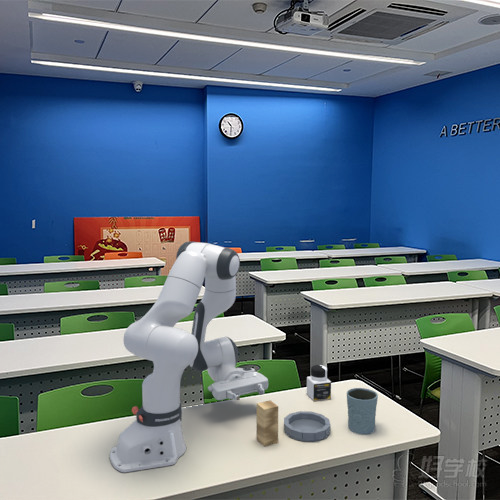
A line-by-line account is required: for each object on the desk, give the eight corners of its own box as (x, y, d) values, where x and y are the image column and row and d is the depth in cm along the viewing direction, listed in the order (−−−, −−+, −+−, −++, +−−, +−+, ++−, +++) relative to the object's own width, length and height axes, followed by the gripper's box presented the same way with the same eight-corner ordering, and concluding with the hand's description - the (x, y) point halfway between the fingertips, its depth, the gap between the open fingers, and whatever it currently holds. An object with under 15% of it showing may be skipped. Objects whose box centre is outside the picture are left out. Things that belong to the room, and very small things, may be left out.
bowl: (300, 446, 152) (300, 437, 151) (275, 425, 165) (275, 417, 165) (339, 435, 159) (339, 426, 158) (312, 416, 172) (312, 408, 171)
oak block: (264, 446, 152) (264, 409, 150) (256, 439, 156) (256, 403, 154) (278, 442, 154) (278, 406, 152) (270, 435, 158) (270, 400, 157)
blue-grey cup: (354, 437, 157) (355, 401, 156) (340, 422, 167) (341, 389, 165) (382, 433, 160) (383, 397, 158) (367, 419, 170) (368, 386, 168)
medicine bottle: (313, 401, 184) (314, 370, 182) (306, 394, 191) (306, 364, 189) (331, 399, 186) (331, 368, 184) (323, 392, 192) (323, 362, 191)
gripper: (205, 378, 172) (221, 392, 160) (257, 367, 181) (276, 380, 169) (206, 395, 173) (222, 411, 160) (257, 383, 182) (276, 397, 170)
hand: (250, 395), depth 165 cm, fingers open, 8 cm apart
